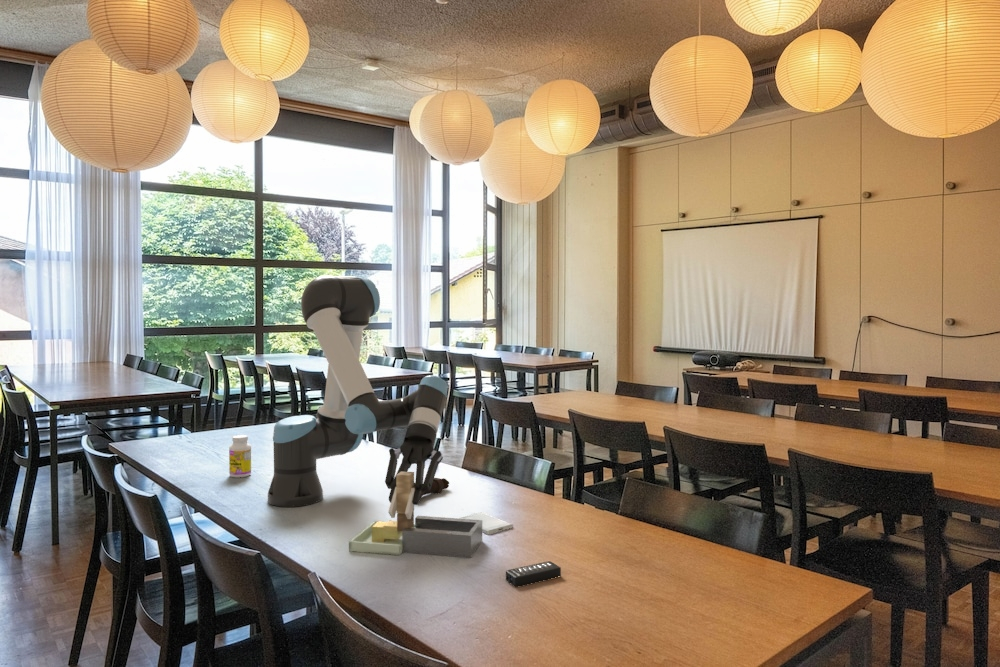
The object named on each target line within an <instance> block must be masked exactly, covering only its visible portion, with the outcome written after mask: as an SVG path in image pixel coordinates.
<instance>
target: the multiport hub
mask: <svg viewBox="0 0 1000 667" xmlns="http://www.w3.org/2000/svg"><path fill="white" fill-rule="evenodd" d="M558 576H561V577H562V568H561V567H560V566H559V565H558V564H555V563H554V562H552V561H550V560H549V561H542V562H538V563H534V564H529V565H526V566H519V567H515V568H511V569H506V570H505V581H506V582H507V581H508V582H507V583H509V584H510V583H511V584H510V585H511V586H513V585H514V586H515V588H519V587H518V586H521V587H524V586H523V585H525V586H528V585H527V584H529V585H532V584H531V583H533V584H536V583H535V582H538V583H540V582H539V581H542V582H544V581H543V580H546V581H549V580H548V579H551V578H555V577H558ZM555 579H556V578H555ZM551 580H552V579H551ZM514 586H513V587H514Z"/></svg>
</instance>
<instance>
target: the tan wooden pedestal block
mask: <svg viewBox="0 0 1000 667" xmlns="http://www.w3.org/2000/svg"><path fill="white" fill-rule="evenodd" d="M396 474H397V473H396ZM396 474H395V476H396V500H397V511H396V521H397V531H402V530H403V529H404V528H412V527H413V526H414V524H415V515H414V514H415V513H414V511H415V507H414V508H413V512H412V516H411V519H407V517H406V515H405V511H406V507H407V503H408V499H409V495H410V492H411V488H414V483H415V472H414V471H407V472H403V471H401V472H400V473H398V474H397V475H396Z"/></svg>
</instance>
